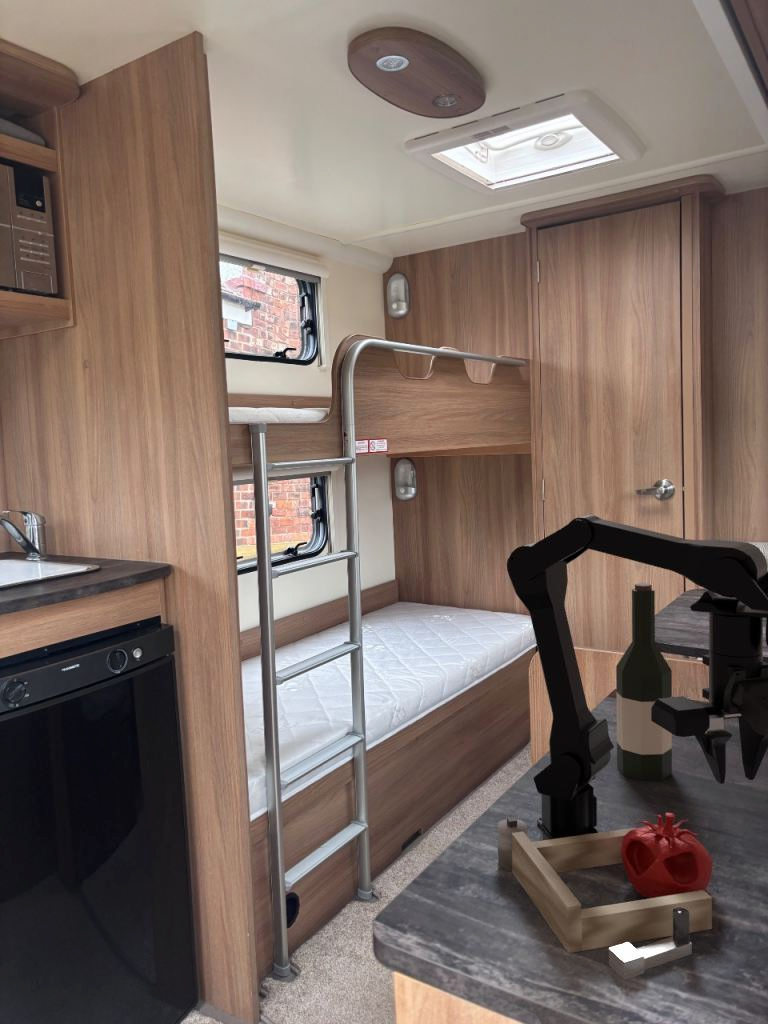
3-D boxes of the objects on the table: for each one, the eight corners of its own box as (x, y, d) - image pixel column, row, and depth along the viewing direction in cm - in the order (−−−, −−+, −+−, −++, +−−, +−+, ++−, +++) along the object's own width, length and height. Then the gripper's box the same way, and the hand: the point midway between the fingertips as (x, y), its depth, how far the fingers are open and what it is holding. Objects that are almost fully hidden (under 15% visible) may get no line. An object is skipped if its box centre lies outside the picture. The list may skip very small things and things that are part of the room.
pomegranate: (636, 861, 98) (635, 788, 98) (721, 883, 92) (720, 806, 92) (610, 897, 90) (608, 818, 90) (701, 924, 84) (700, 840, 84)
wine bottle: (683, 775, 122) (683, 586, 120) (640, 785, 119) (639, 591, 117) (647, 756, 130) (646, 578, 128) (606, 765, 127) (604, 583, 124)
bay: (558, 954, 80) (558, 900, 80) (494, 858, 99) (493, 814, 99) (711, 928, 84) (711, 877, 83) (621, 840, 103) (620, 798, 102)
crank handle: (624, 979, 76) (624, 938, 76) (608, 965, 78) (608, 925, 78) (696, 955, 79) (695, 916, 79) (679, 942, 82) (678, 903, 81)
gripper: (705, 677, 81) (705, 822, 82) (859, 662, 85) (856, 800, 86) (648, 651, 92) (649, 779, 93) (787, 638, 96) (785, 762, 97)
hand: (734, 780), depth 92 cm, fingers open, 4 cm apart
